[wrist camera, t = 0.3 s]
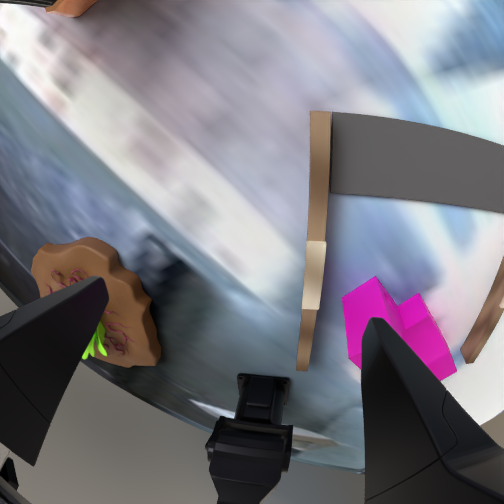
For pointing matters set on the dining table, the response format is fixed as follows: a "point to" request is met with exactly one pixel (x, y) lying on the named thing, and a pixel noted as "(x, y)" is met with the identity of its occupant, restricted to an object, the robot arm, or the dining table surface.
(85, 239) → the plant
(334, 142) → the trap mat
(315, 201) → the lane rails
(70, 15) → the whiskey bottle
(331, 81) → the dining table surface
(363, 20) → the dining table surface
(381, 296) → the toy block
